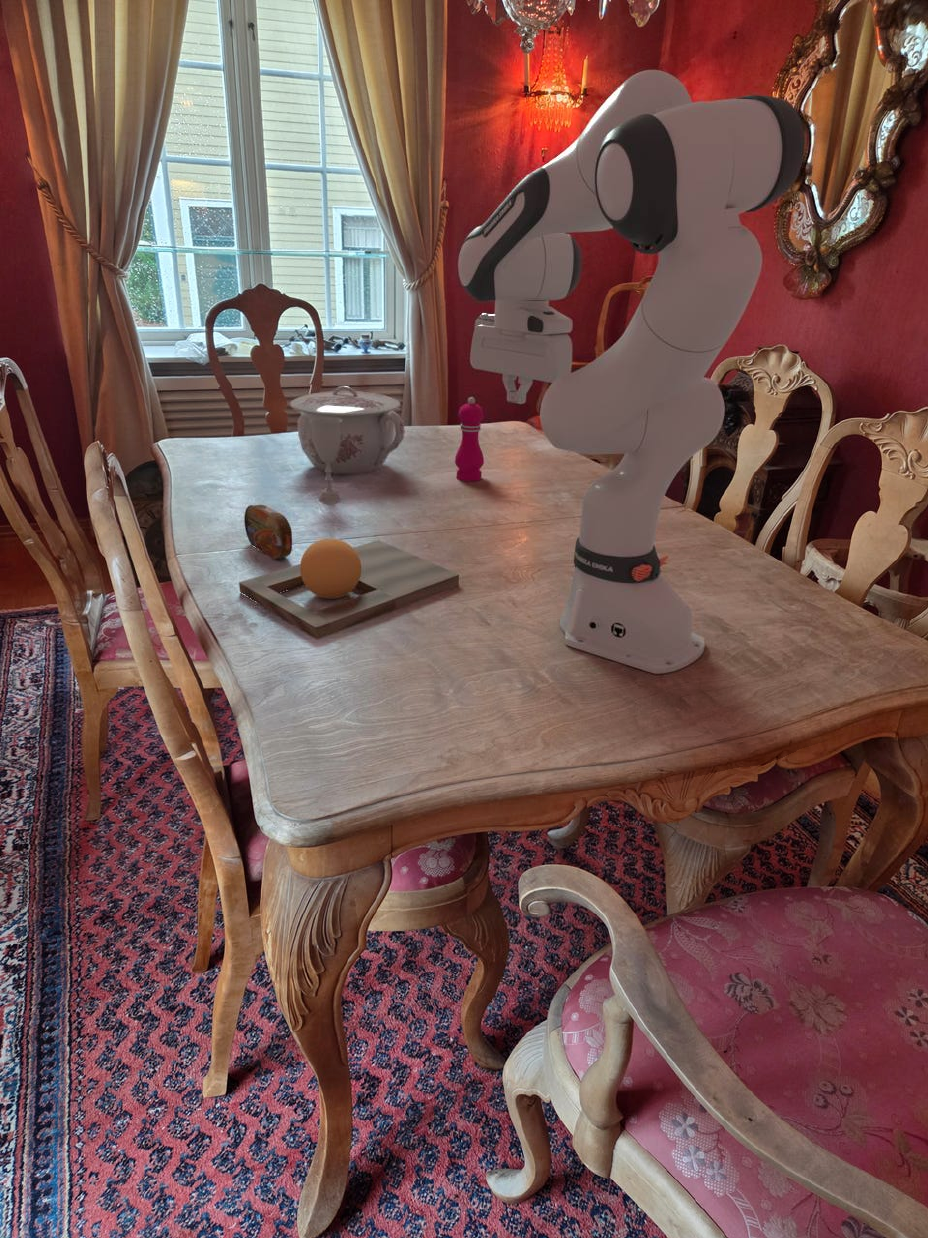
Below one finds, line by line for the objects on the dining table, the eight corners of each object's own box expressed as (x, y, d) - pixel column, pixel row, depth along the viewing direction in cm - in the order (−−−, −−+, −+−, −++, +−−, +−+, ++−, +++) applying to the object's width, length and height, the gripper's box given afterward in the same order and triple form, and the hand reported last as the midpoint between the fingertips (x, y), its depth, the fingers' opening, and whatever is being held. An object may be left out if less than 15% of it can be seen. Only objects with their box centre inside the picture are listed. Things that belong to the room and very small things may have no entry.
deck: (458, 585, 134) (459, 574, 133) (316, 639, 115) (316, 627, 114) (378, 549, 148) (378, 540, 147) (240, 593, 128) (238, 582, 128)
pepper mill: (480, 483, 189) (483, 400, 180) (451, 480, 190) (453, 398, 181) (485, 475, 195) (488, 395, 186) (457, 472, 196) (459, 393, 187)
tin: (244, 541, 150) (240, 500, 146) (259, 538, 152) (255, 497, 148) (281, 565, 140) (277, 522, 136) (297, 562, 141) (293, 518, 138)
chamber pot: (288, 457, 205) (282, 377, 196) (389, 452, 213) (387, 375, 204) (301, 487, 182) (294, 398, 172) (413, 480, 189) (413, 395, 180)
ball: (348, 552, 119) (299, 592, 120) (381, 582, 127) (335, 620, 128) (326, 515, 125) (279, 554, 126) (359, 547, 133) (315, 583, 134)
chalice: (307, 501, 173) (302, 420, 165) (326, 493, 178) (321, 415, 170) (333, 506, 170) (329, 425, 162) (351, 498, 175) (348, 419, 167)
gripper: (463, 312, 131) (461, 395, 137) (556, 324, 118) (549, 414, 125) (488, 311, 135) (485, 391, 141) (581, 322, 122) (573, 409, 129)
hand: (516, 402), depth 133 cm, fingers closed
